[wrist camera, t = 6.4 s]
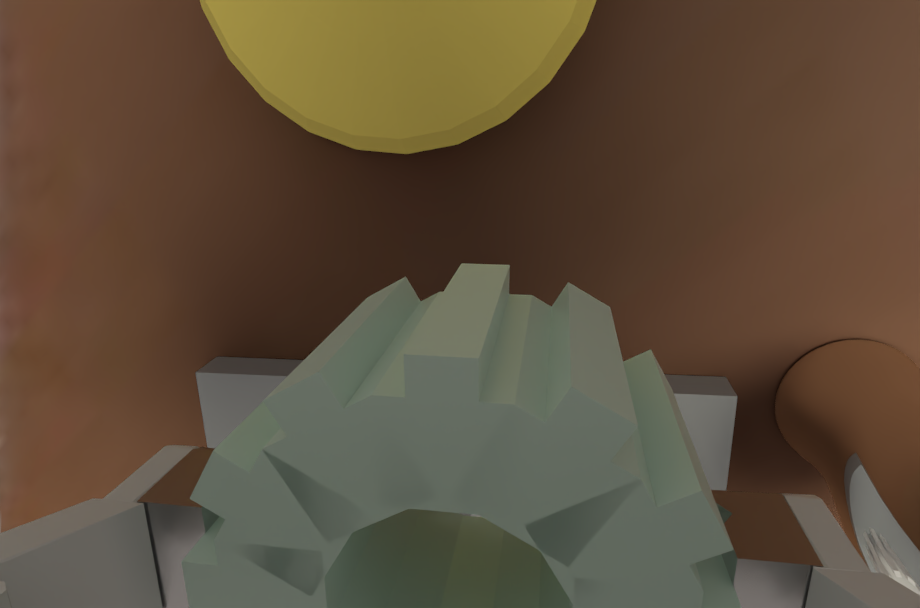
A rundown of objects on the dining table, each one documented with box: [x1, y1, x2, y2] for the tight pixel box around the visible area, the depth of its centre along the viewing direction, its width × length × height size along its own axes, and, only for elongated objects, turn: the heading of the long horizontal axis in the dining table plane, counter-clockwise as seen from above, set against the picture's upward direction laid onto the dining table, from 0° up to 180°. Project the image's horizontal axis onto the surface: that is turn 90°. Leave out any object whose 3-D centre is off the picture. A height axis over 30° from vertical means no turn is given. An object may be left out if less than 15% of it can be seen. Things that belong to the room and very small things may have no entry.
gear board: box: [195, 357, 738, 517], centre depth 28 cm, size 25×14×9 cm, turn 91°
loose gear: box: [181, 263, 742, 608], centre depth 9 cm, size 7×7×4 cm
